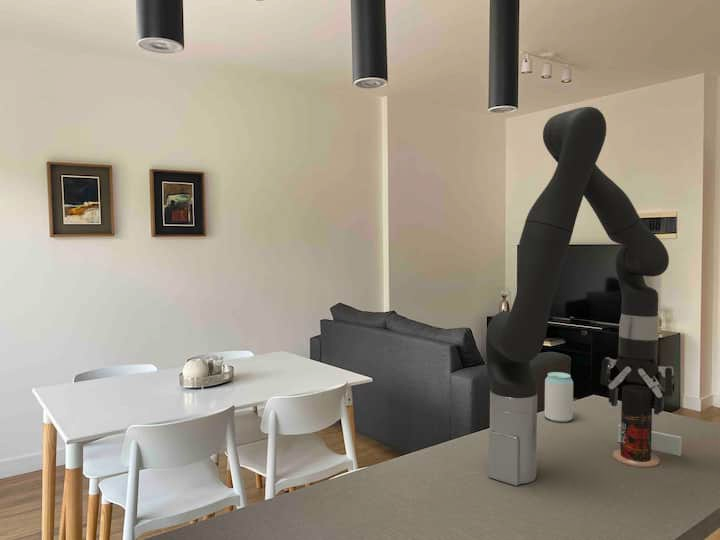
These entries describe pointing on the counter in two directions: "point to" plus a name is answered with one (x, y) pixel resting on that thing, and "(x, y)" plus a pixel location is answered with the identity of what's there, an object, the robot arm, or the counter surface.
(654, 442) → the acrylic wall
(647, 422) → the deodorant
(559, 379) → the can
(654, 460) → the coaster
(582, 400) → the counter surface
